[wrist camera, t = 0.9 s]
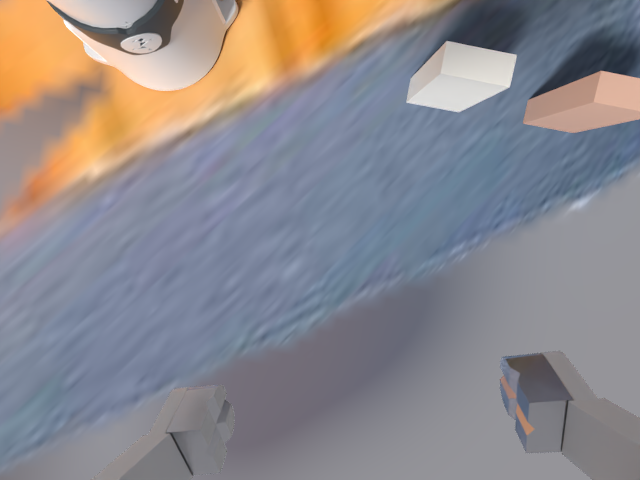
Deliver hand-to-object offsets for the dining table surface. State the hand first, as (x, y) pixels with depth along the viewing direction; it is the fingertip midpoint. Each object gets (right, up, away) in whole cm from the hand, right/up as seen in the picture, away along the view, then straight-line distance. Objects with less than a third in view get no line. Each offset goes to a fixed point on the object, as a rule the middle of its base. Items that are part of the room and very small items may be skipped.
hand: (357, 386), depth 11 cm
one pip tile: (+14, +23, +37) cm, 45 cm away
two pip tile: (+29, +20, +38) cm, 52 cm away
